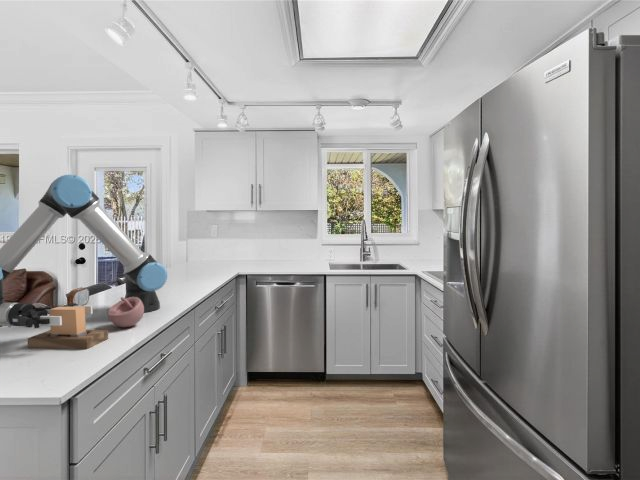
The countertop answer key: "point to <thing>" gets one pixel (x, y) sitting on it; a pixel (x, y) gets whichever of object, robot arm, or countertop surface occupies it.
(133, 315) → the mortar and pestle
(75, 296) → the tin
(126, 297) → the robot arm
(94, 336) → the wooden compartment tray
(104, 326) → the countertop surface
